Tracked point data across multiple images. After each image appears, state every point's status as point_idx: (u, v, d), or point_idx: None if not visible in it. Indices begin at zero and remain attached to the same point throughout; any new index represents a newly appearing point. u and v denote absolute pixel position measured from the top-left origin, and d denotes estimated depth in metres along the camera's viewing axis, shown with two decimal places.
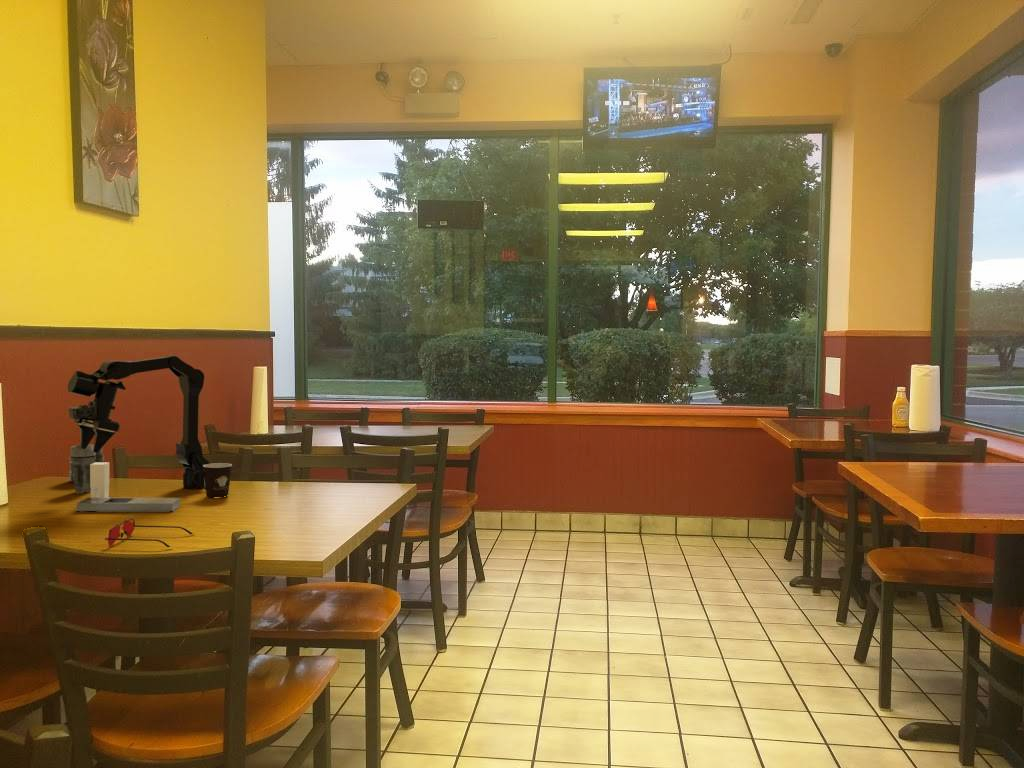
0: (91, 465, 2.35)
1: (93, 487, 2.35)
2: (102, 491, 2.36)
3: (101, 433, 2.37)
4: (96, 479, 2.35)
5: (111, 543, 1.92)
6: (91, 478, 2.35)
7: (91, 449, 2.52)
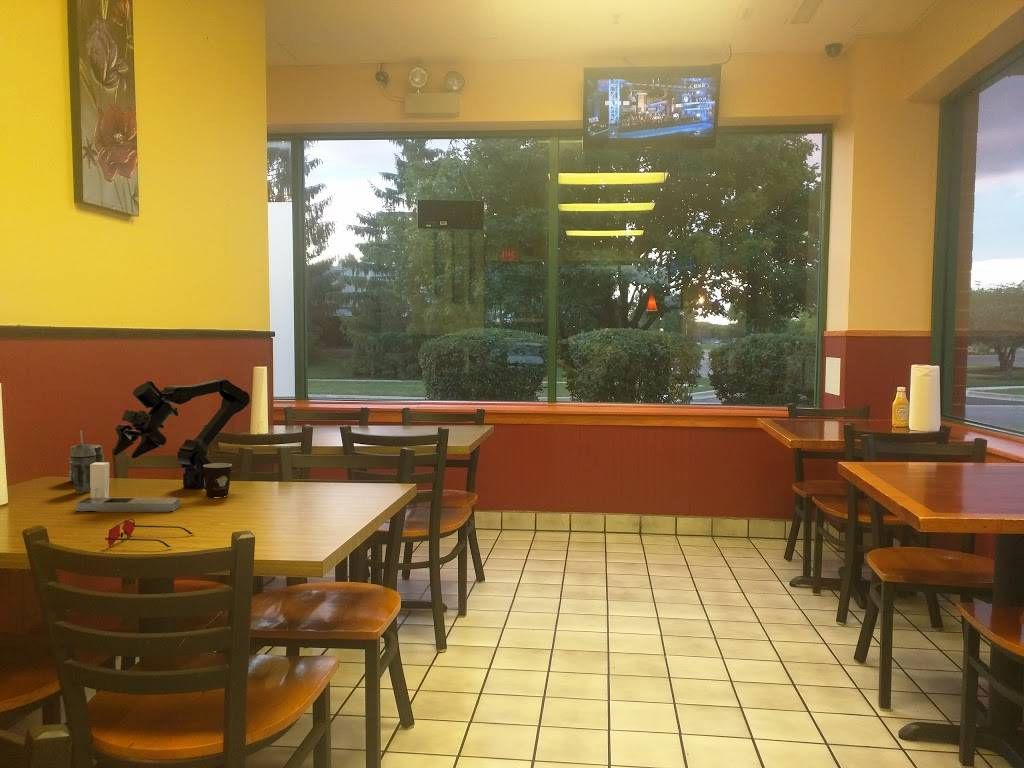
0: (91, 465, 2.35)
1: (93, 487, 2.35)
2: (102, 491, 2.36)
3: (146, 442, 2.44)
4: (96, 479, 2.35)
5: (111, 543, 1.92)
6: (91, 478, 2.35)
7: (91, 449, 2.52)
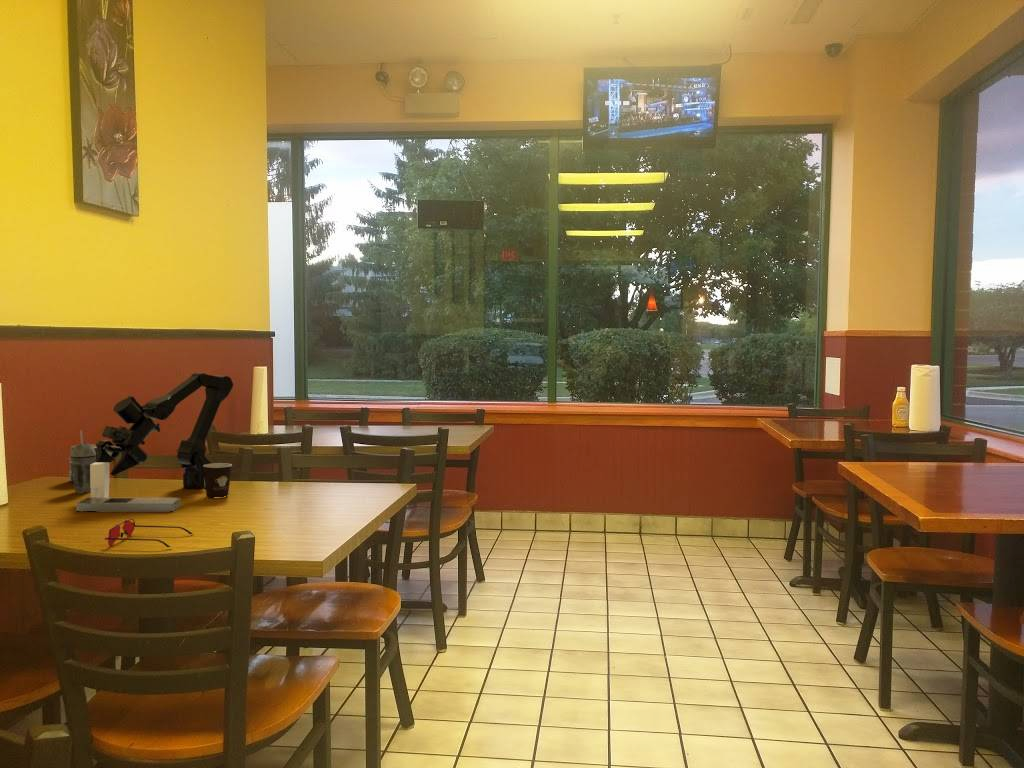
0: (91, 465, 2.35)
1: (93, 487, 2.35)
2: (102, 491, 2.36)
3: (126, 459, 2.38)
4: (96, 479, 2.35)
5: (111, 543, 1.92)
6: (91, 478, 2.35)
7: (91, 449, 2.52)
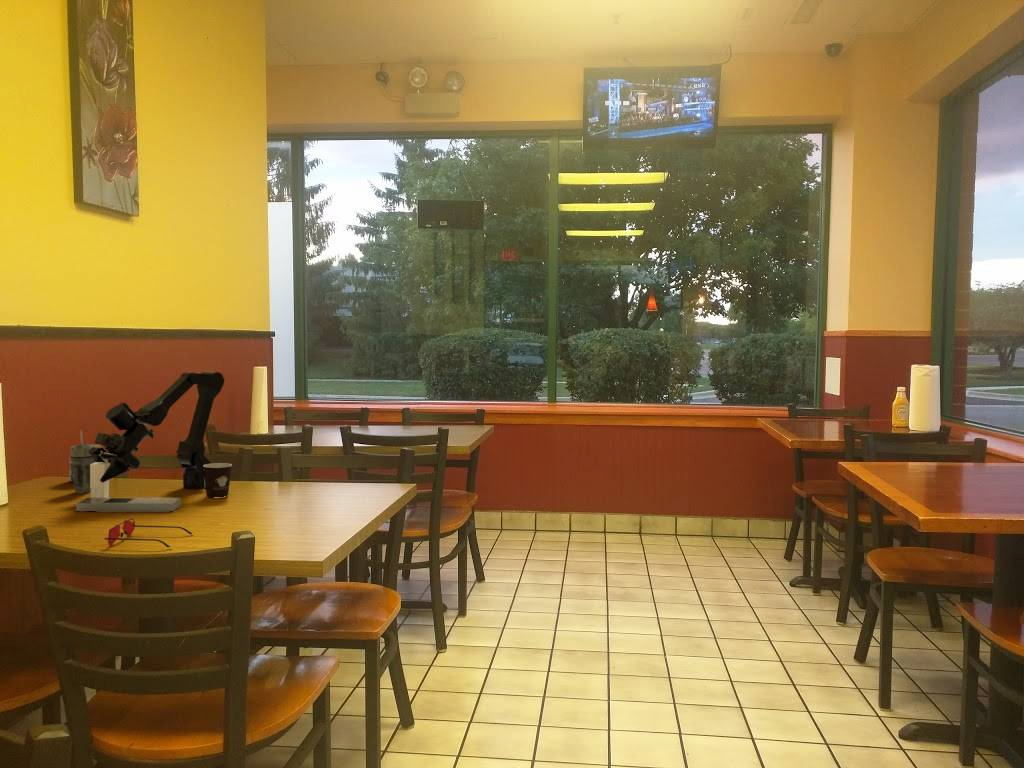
0: (91, 465, 2.35)
1: (93, 487, 2.35)
2: (102, 491, 2.36)
3: (116, 465, 2.37)
4: (96, 479, 2.35)
5: (111, 543, 1.92)
6: (91, 478, 2.35)
7: None
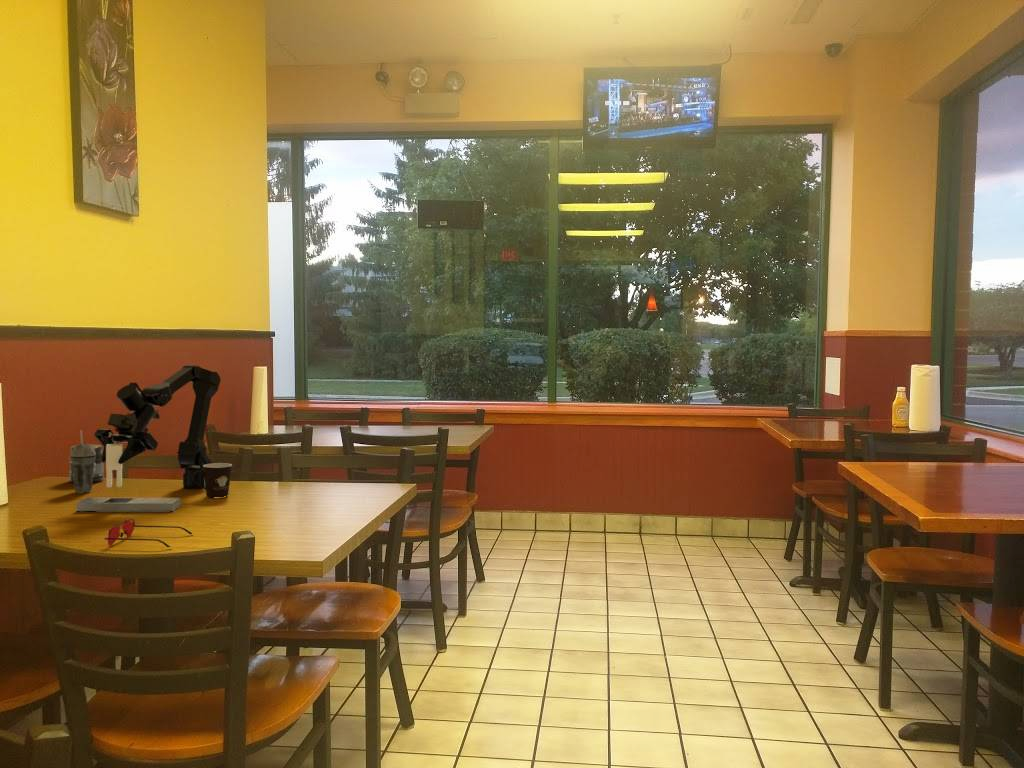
0: (107, 447, 2.28)
1: (109, 469, 2.29)
2: (119, 473, 2.30)
3: (132, 446, 2.32)
4: (112, 461, 2.29)
5: (111, 543, 1.92)
6: (107, 460, 2.29)
7: (91, 449, 2.52)
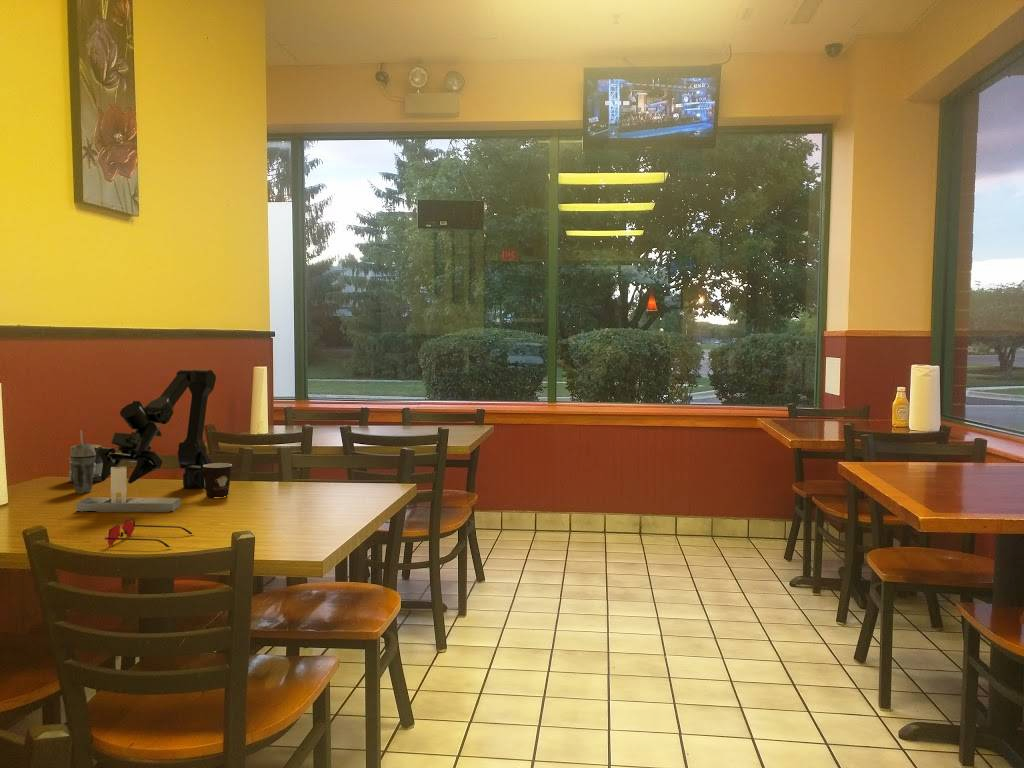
0: (112, 470, 2.28)
1: (114, 492, 2.29)
2: (123, 496, 2.30)
3: (142, 466, 2.31)
4: (117, 484, 2.29)
5: (111, 543, 1.92)
6: (112, 483, 2.28)
7: (91, 449, 2.52)
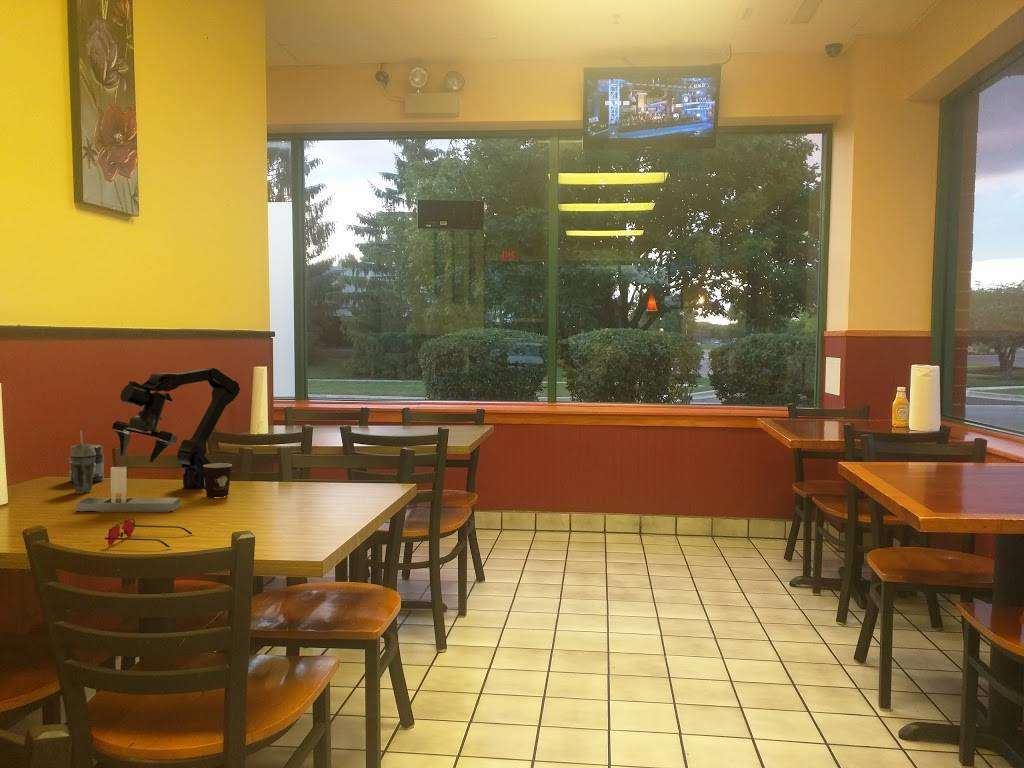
0: (112, 470, 2.28)
1: (114, 493, 2.29)
2: (123, 496, 2.30)
3: None
4: (117, 484, 2.29)
5: (111, 542, 1.92)
6: (112, 483, 2.28)
7: (91, 449, 2.52)
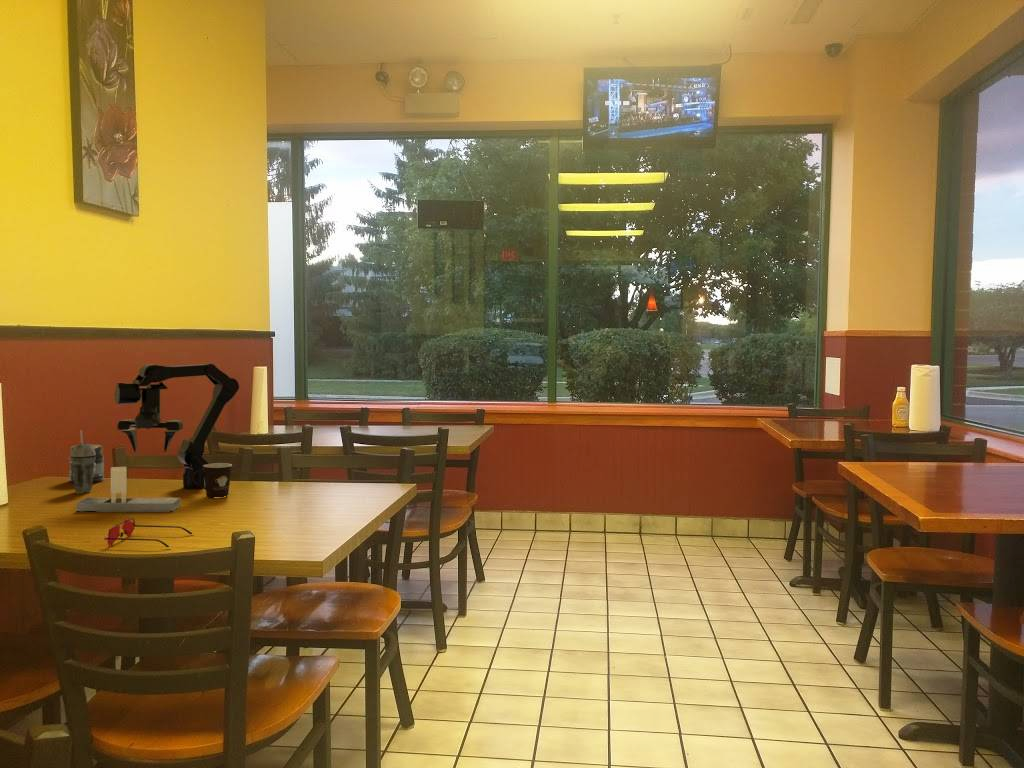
0: (112, 470, 2.28)
1: (114, 493, 2.29)
2: (123, 496, 2.30)
3: None
4: (117, 484, 2.29)
5: (111, 543, 1.92)
6: (112, 483, 2.28)
7: (91, 449, 2.52)
